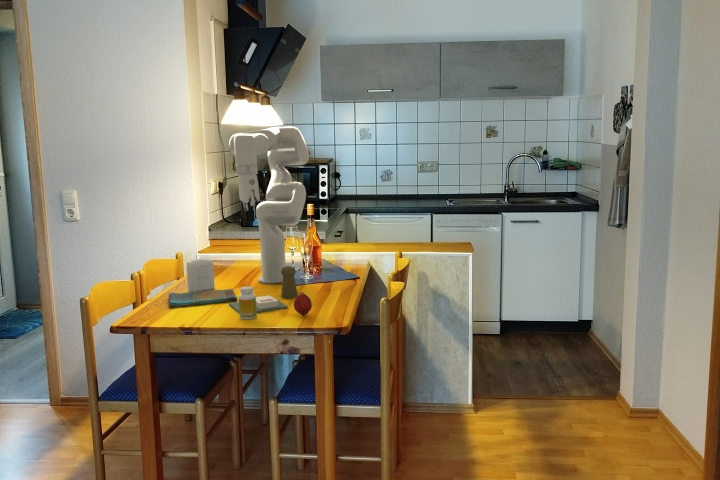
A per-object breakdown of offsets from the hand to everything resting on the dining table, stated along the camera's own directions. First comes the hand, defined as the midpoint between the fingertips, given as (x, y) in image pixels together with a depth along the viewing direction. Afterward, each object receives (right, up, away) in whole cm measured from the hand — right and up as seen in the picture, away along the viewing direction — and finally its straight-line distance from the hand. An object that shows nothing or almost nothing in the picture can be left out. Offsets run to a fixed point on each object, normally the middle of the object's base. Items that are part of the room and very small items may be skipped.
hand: (249, 221), depth 242 cm
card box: (+5, -27, -9) cm, 29 cm away
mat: (+5, -29, -12) cm, 32 cm away
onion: (+21, -31, -25) cm, 45 cm away
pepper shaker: (+14, -27, 0) cm, 31 cm away
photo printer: (-21, -26, +14) cm, 36 cm away
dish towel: (-17, -29, +1) cm, 33 cm away
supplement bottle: (+4, -32, -25) cm, 40 cm away
